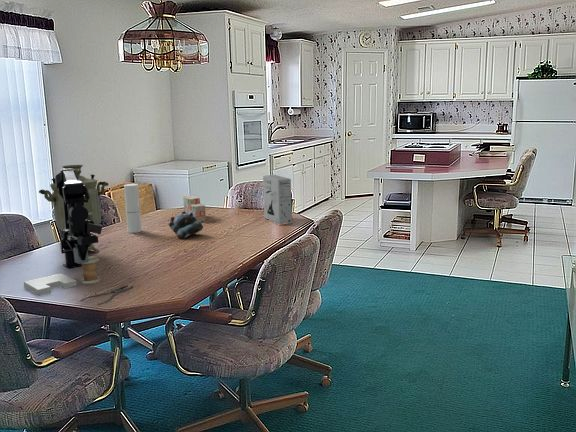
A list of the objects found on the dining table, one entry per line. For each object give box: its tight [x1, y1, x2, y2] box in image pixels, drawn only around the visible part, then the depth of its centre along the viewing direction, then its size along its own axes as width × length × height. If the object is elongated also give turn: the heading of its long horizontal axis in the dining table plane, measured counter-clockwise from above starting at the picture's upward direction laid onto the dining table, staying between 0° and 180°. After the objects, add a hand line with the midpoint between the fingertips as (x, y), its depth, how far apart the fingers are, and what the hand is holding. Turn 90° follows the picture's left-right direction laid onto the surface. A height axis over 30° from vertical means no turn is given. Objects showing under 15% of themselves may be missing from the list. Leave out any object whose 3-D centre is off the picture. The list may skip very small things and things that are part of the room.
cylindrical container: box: [123, 183, 142, 234], centre depth 299 cm, size 7×7×25 cm
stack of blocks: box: [183, 195, 207, 223], centre depth 330 cm, size 21×6×12 cm, turn 27°
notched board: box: [23, 272, 78, 296], centre depth 212 cm, size 14×14×2 cm
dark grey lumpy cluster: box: [168, 211, 204, 240], centre depth 287 cm, size 15×12×14 cm
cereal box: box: [262, 174, 293, 225], centre depth 317 cm, size 22×8×25 cm, turn 25°
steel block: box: [73, 247, 89, 264], centre depth 206 cm, size 4×4×6 cm
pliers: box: [80, 284, 134, 306], centre depth 201 cm, size 10×1×20 cm
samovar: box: [38, 164, 109, 253], centre depth 254 cm, size 30×26×40 cm
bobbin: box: [80, 255, 101, 285], centre depth 215 cm, size 7×7×9 cm
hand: (81, 259), depth 207 cm, fingers closed on steel block, 4 cm apart
